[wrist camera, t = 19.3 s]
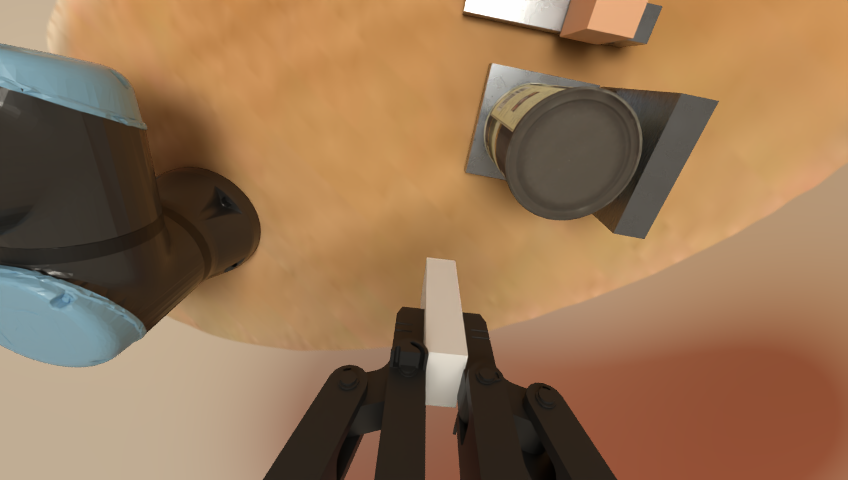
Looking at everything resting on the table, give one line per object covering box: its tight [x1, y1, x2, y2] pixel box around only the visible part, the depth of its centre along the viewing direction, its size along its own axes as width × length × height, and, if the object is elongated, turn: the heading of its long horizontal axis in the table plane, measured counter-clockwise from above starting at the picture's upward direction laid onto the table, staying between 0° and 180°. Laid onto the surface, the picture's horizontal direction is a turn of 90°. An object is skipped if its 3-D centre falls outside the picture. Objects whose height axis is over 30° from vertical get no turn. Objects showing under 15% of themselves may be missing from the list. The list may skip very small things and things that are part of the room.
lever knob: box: [560, 0, 648, 45], centre depth 30 cm, size 4×4×7 cm
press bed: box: [465, 63, 719, 239], centre depth 34 cm, size 16×12×14 cm
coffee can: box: [484, 83, 642, 220], centre depth 32 cm, size 10×10×14 cm
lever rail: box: [463, 0, 662, 48], centre depth 33 cm, size 18×3×5 cm, turn 80°
